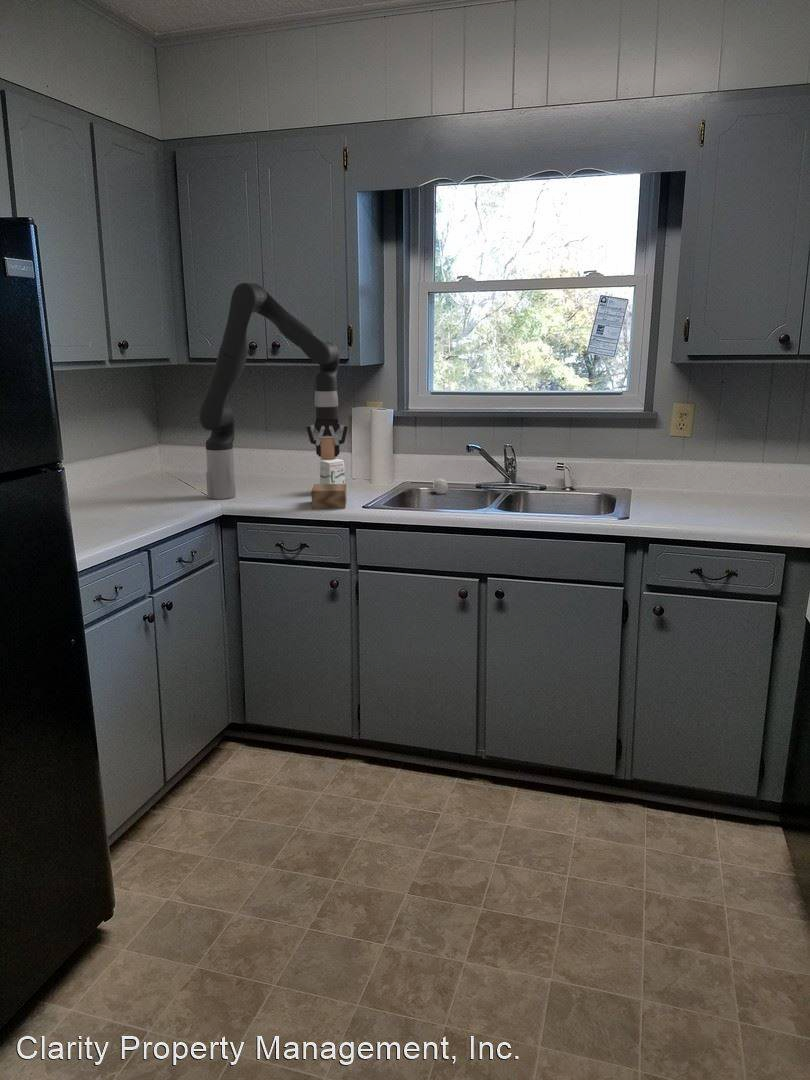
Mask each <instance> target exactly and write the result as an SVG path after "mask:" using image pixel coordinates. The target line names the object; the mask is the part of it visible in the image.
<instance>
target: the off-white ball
mask: <svg viewBox="0 0 810 1080" xmlns="http://www.w3.org/2000/svg"><path fill="white" fill-rule="evenodd" d="M432 486H433V490H434V491H435V494H438V495H443V494H446V493H447V491H448V490H449V485H448V483H447V481H446V479H444V478H442V477H439V478H436V479H434V481H433V482H432Z"/></svg>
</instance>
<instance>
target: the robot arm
mask: <svg viewBox="0 0 810 1080" xmlns="http://www.w3.org/2000/svg"><path fill="white" fill-rule="evenodd" d="M253 313H257V314H259V315H260V316H262V317H264V318H266V319H268V320H269V321H270V322H271V323H273V325H274V326H275V327H276V328H277V329H278V331H279V332H280V334H282V335H283V336H284V337H285V338H286V339H287V340H288V341H290V342H291V343H292V344H294V345H295V346H297V348H299V349H300V350H302V352H303V353H304V354H305V355H306V356H307V358H309V359H310V360H311V361H312V362H313V363H316V364H317V365H319V368H318V370H319V371H318V372H317V373H316V374H315V377H314V379H315V380H314V383H315V384H314V387H315V388H314V389H315V393H314V394H315V395H314V407H315V408H314V409H315V410H314V411H315V413H314V414H315V423H313V424H311V425H309V424H308V425H306V432H307V435H308V439H309V442H310V444H312V445H315V453H316V455H317V456H318V457H319V458H321V453H320V441H321V438H322V437H333V439H334V441H335V457H339V455H340V452H341V451H340V445H343V444H345V442H346V437H347V434H348V427H349V425H346V424H341V422H340V421H339V397H338V384H337V383H338V382H337V381H338V380H337V375H338V371H339V366H340V352H339V351H340V350H339V348H338V347H337V345H336V344H335V343H333V342H329V341H325V342H323V341H322V340H320V339H319V338H318V337H317V336H316V333H315V332H314V330H312V329H311V328H310V327H308V326H307V325H306V324H304V323H303V322H302V321H300V320H299V319H298V318H296V316H294V315H292V314H291V313H290V312H289V311H287V310H286V309H285V308H284V307H283V306H282V305H281V304H280V303H278V301H276V300H275V298H274V297H273V296H272V295H271V294H270V293H269V292H268V291H267V290H266V289H265V288H264V287H263V286H262V285H260V284H258V283H253V282H241V283H239V284H237V285H236V286H235V288H234V289H233V291H232V294H231V299H230V305H229V311H228V316H227V320H226V326H225V329H224V332H223V337H222V339H221V340H222V341H221V344H220V347H219V351H218V354H217V358H216V362H215V366H214V369H213V372H212V374H211V375H212V376H211V379H210V383H209V386H208V389H207V392H206V394H205V397H204V400H203V402H202V404H201V407H200V411H199V416H198V417H199V423H200V424H201V426H202V427H203V429H204V430H206V431H211V433H210V436H209V437H208V438H207V439H206V441H205V454H206V469H207V470H206V472H205V476H206V478H205V480H206V489H207V490H206V493H207V499H213V500H214V499H215V500H225V499H226V500H227V499H232V498H235V497H236V482H235V479H236V478H235V466H234V465H235V463H234V449H233V445H234V441H235V415H234V411H233V409H232V407H231V405H230V404H228V403H227V402H226V401H227V398H228V396H229V393H230V392H231V390H232V389H233V387H234V385H236V383H237V382H238V380H239V378H240V377H241V375H242V374H243V371H244V368H245V365H246V361H247V358H248V353H249V352H248V350H249V349H248V347H249V346H248V337H247V330H248V326H249V322H250V319H251V316H252V314H253ZM314 429H316V432H318V436H317V439H315V438H314V434H313V432H314ZM339 429H340V431H341V432H342V436H341V439H339V437H338V435H337V431H338V430H339Z"/></svg>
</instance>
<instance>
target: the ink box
mask: <svg viewBox="0 0 810 1080" xmlns="http://www.w3.org/2000/svg"><path fill="white" fill-rule="evenodd" d="M345 470H346V469H345V460H344V459H341V458H336V459H334V460H321V461H319V476H320V477H319V484H346V482H345V476H346V474H345V472H346V471H345Z"/></svg>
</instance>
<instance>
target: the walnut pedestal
mask: <svg viewBox="0 0 810 1080" xmlns="http://www.w3.org/2000/svg"><path fill="white" fill-rule="evenodd" d="M310 493H311V510H317V509H318V508H319V509H321V508H339V509H346V506H347V505H346V504H347V499H348V498H347V483H345V484H320V483H318V484H317V483H316V484H315V483H314V484H313V486H312V489H311V492H310Z"/></svg>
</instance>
